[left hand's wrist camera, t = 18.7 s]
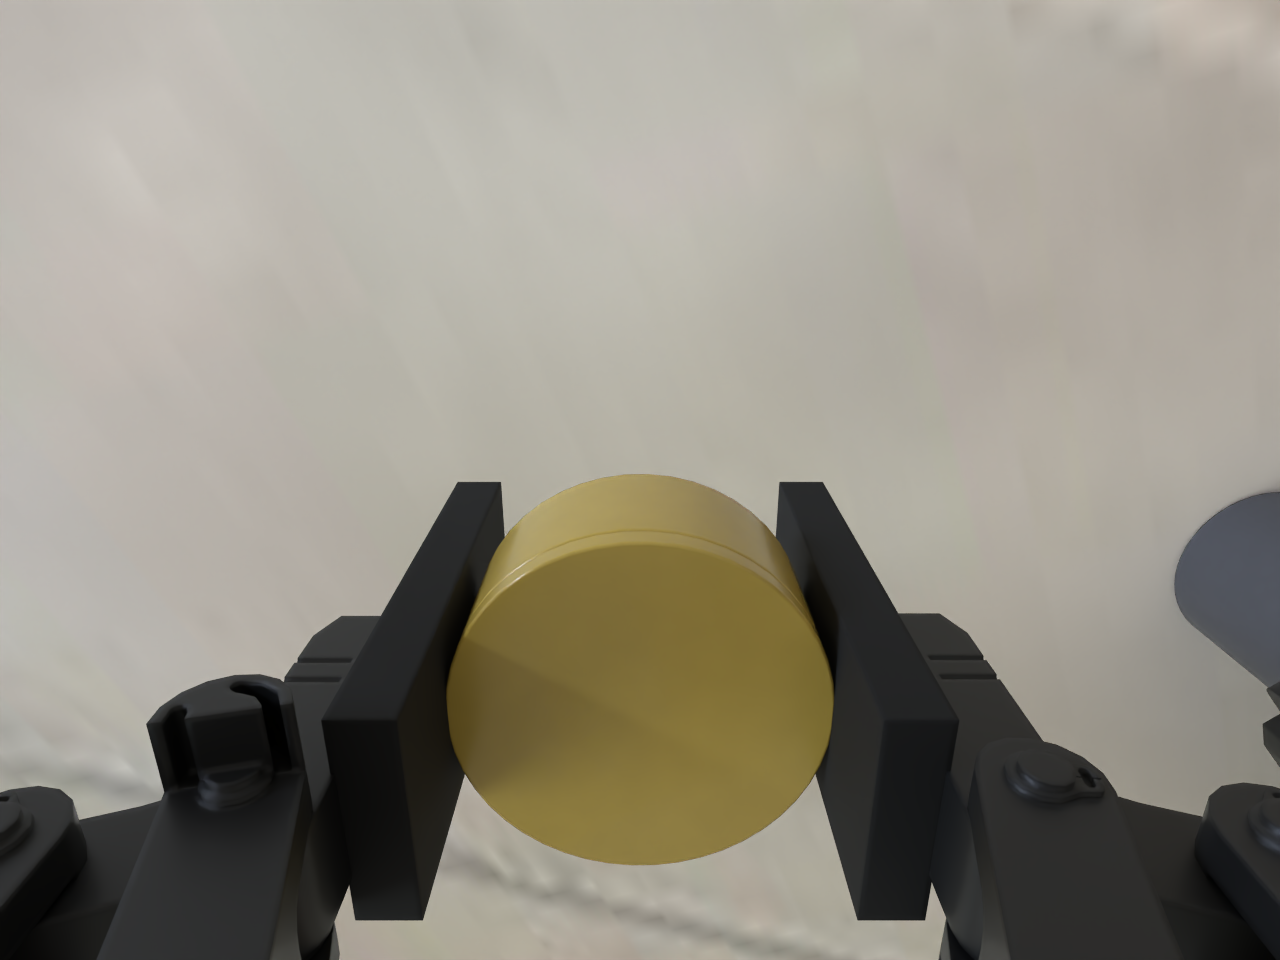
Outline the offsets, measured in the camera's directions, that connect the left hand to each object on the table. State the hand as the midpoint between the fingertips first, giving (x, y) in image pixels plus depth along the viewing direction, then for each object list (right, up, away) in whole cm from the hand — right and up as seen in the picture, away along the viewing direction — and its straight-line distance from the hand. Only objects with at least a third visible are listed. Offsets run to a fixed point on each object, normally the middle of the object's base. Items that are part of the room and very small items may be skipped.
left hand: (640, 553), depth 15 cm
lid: (0, -2, -4) cm, 4 cm away
